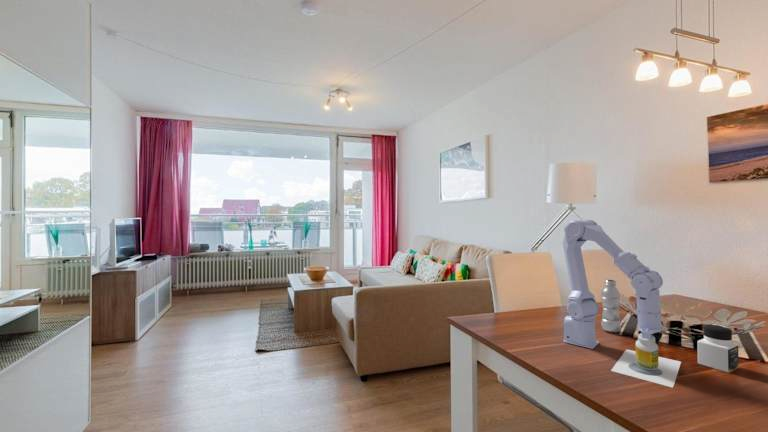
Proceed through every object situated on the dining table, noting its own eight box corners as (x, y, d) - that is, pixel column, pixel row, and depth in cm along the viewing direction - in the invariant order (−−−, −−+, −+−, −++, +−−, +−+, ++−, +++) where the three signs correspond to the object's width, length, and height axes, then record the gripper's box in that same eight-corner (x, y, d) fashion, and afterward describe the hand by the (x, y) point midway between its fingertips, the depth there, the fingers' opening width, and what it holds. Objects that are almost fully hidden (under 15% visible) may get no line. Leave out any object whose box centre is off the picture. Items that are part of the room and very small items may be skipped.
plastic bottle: (603, 333, 130) (602, 281, 130) (599, 327, 136) (598, 278, 136) (623, 335, 128) (622, 282, 128) (618, 329, 134) (617, 279, 134)
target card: (610, 372, 99) (610, 370, 99) (626, 350, 114) (626, 349, 114) (673, 389, 89) (673, 387, 89) (681, 362, 104) (681, 361, 104)
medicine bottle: (729, 373, 97) (728, 331, 97) (697, 363, 103) (696, 324, 103) (739, 367, 100) (738, 327, 100) (707, 358, 106) (707, 321, 106)
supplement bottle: (640, 356, 105) (639, 329, 103) (661, 364, 100) (661, 335, 98) (632, 365, 102) (632, 337, 100) (654, 373, 97) (654, 344, 95)
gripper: (662, 318, 94) (666, 367, 94) (668, 308, 105) (671, 352, 104) (631, 314, 99) (634, 361, 99) (640, 305, 110) (642, 347, 109)
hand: (651, 356), depth 102 cm, fingers closed, pressing on supplement bottle
